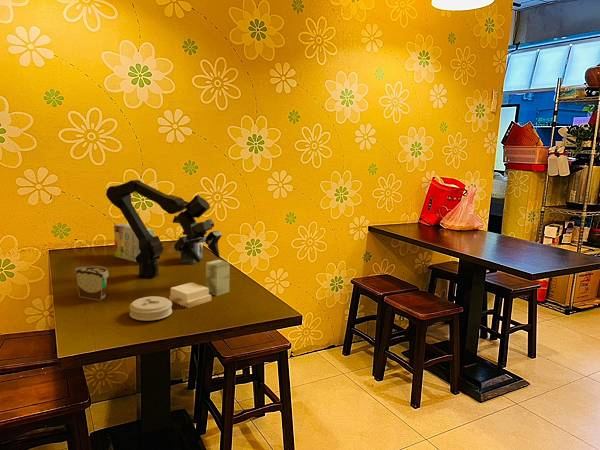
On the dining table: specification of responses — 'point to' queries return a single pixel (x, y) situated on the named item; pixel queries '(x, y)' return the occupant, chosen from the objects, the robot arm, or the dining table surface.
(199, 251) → the small box
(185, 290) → the tower top slab
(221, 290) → the pillar block
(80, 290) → the food container
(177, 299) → the tower base slab
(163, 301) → the lid
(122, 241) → the snack box
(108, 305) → the dining table surface
